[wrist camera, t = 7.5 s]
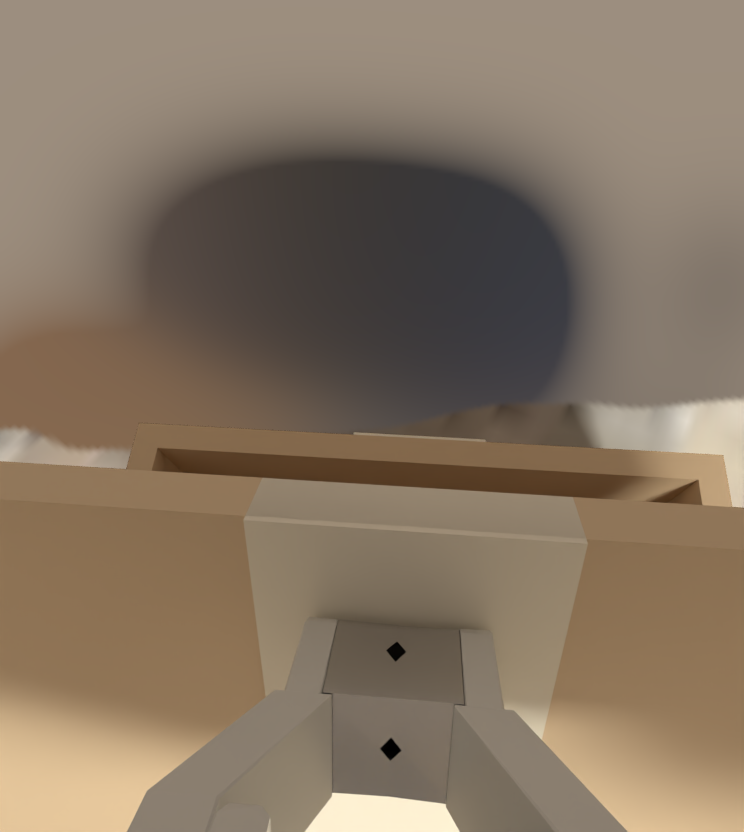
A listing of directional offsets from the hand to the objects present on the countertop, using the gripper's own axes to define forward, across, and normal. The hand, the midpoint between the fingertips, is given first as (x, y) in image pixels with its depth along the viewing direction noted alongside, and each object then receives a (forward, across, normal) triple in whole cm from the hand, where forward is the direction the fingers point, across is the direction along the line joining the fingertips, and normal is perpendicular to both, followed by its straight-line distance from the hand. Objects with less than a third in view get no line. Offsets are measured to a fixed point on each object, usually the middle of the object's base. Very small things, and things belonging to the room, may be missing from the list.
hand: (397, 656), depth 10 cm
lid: (+2, 0, +4) cm, 5 cm away
